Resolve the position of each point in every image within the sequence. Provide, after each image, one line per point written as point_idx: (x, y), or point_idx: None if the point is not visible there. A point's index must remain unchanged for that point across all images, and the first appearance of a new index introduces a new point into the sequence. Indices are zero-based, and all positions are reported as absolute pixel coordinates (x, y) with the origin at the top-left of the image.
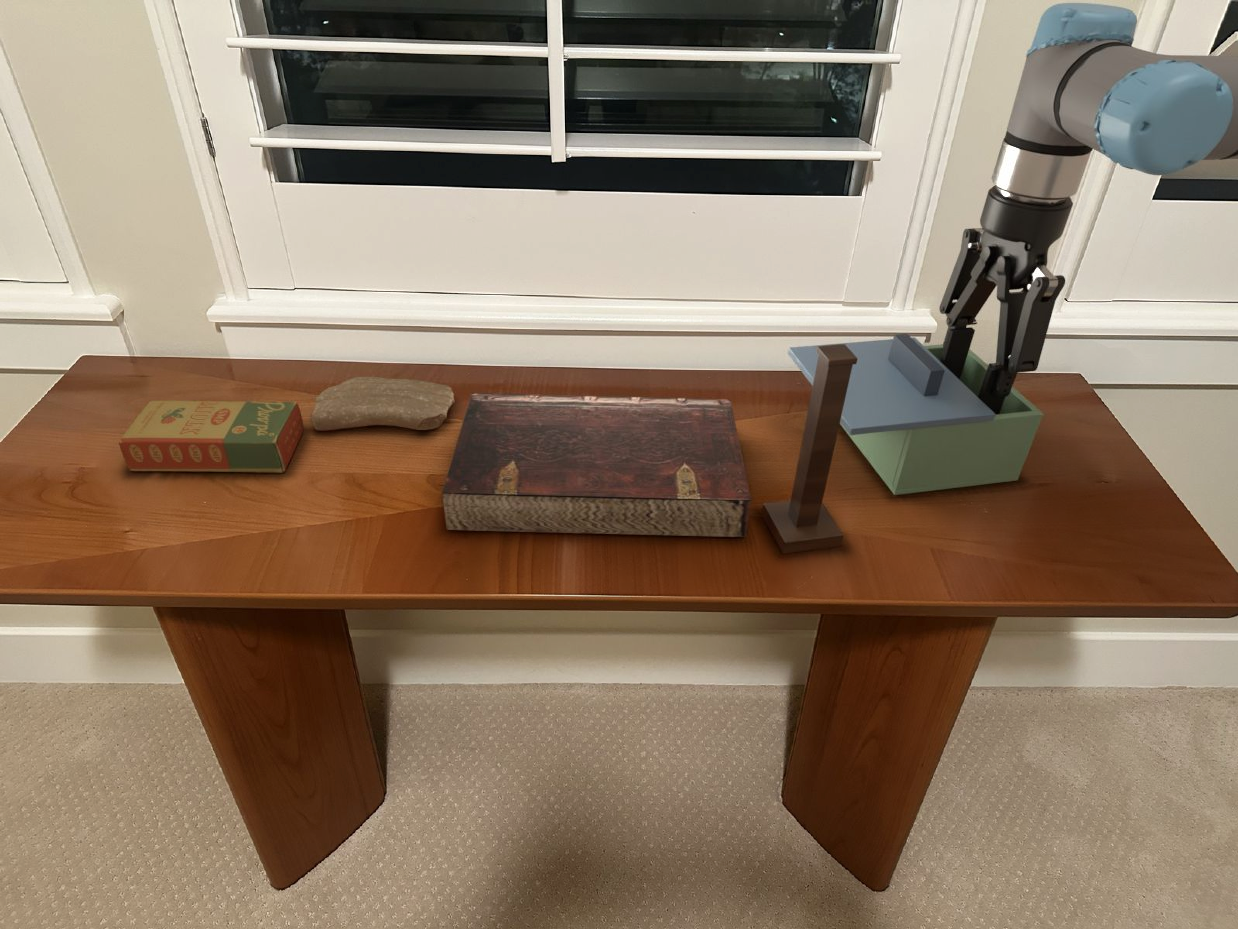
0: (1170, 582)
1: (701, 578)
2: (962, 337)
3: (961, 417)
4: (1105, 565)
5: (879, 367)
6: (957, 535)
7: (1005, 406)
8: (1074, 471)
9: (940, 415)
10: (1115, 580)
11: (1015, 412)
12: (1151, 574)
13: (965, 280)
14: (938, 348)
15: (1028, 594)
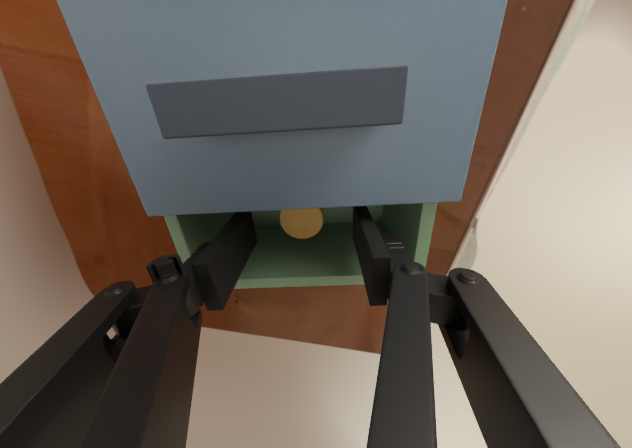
0: (103, 276)
1: None
2: (368, 272)
3: (116, 142)
4: (111, 241)
5: (343, 25)
6: None
7: (262, 262)
8: None
9: (111, 95)
10: (91, 238)
11: None
12: (109, 269)
13: (503, 419)
14: (417, 235)
15: (38, 147)
